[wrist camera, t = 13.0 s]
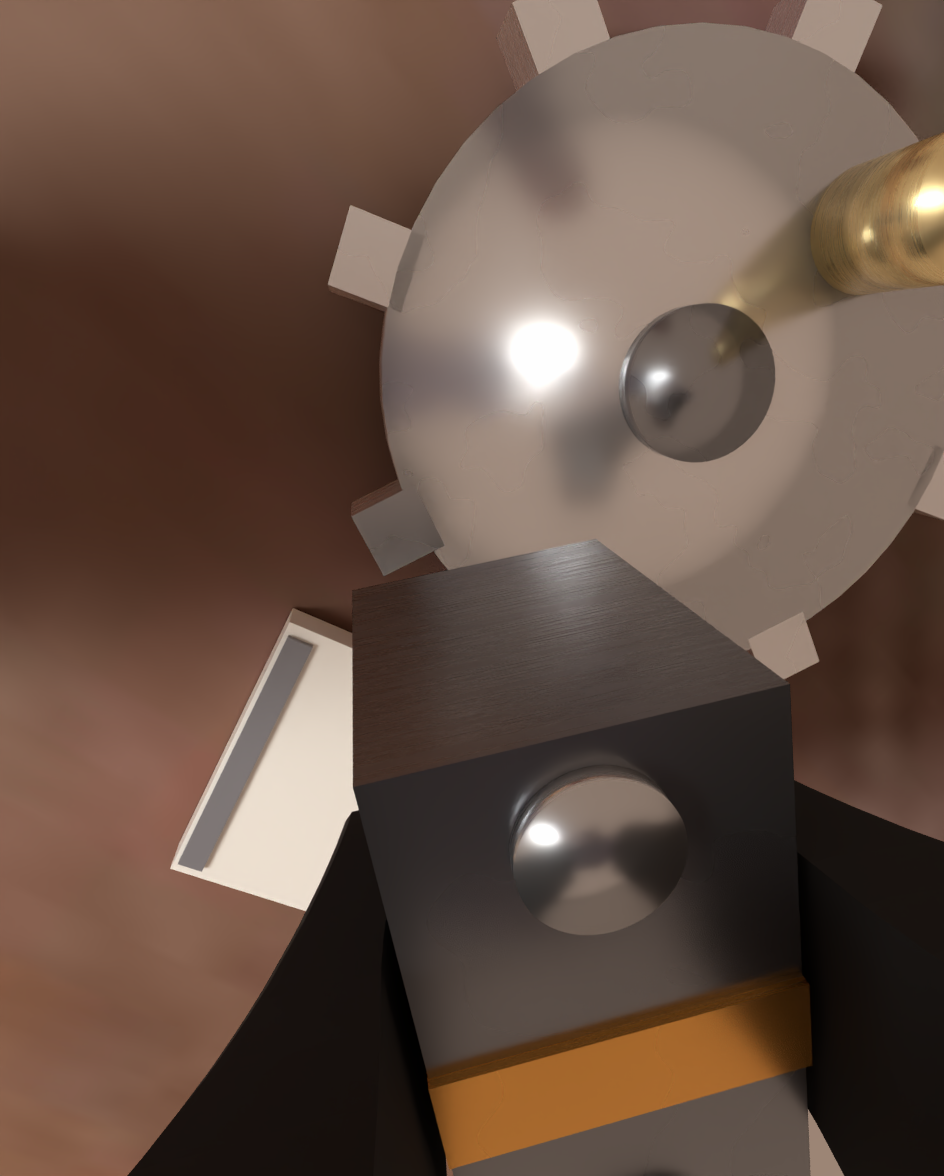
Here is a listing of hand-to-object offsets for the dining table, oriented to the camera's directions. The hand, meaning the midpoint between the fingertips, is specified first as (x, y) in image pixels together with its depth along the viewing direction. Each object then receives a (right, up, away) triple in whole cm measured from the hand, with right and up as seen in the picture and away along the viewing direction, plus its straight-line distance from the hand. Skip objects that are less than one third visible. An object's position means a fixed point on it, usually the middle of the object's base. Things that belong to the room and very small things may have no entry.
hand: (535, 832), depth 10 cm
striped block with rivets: (0, 0, +1) cm, 1 cm away
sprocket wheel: (+3, +8, +7) cm, 11 cm away
